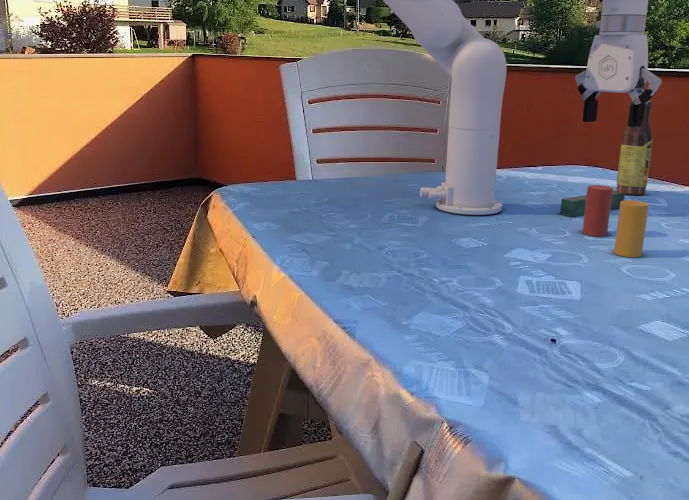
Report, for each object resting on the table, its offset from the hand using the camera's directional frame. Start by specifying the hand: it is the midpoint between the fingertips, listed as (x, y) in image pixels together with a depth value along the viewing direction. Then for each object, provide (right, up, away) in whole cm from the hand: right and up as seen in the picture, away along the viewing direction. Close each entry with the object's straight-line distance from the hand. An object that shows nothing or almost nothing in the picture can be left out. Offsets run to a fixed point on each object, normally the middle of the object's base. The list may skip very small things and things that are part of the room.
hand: (611, 124), depth 131 cm
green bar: (-1, -16, +7) cm, 17 cm away
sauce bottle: (+13, -11, +24) cm, 30 cm away
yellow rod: (-6, -24, -22) cm, 33 cm away
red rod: (-7, -20, -10) cm, 24 cm away
